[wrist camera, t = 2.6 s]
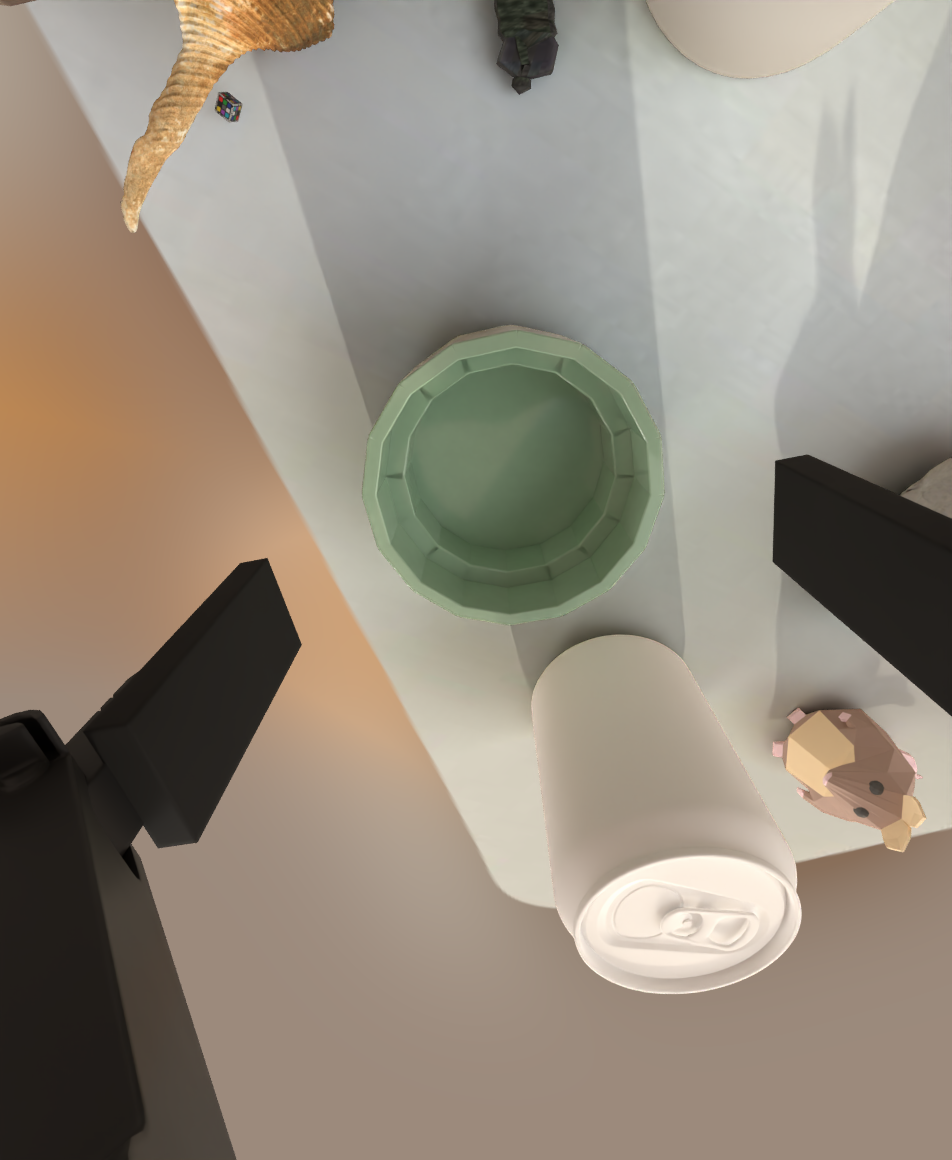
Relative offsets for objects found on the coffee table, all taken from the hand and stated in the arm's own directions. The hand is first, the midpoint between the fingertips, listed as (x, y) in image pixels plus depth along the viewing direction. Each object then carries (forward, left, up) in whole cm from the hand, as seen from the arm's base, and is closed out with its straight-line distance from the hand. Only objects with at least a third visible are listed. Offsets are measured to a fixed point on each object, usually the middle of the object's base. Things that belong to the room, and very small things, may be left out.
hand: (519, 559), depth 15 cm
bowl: (0, 0, -10) cm, 10 cm away
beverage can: (+13, +3, -10) cm, 17 cm away
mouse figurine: (+19, +15, -9) cm, 26 cm away
